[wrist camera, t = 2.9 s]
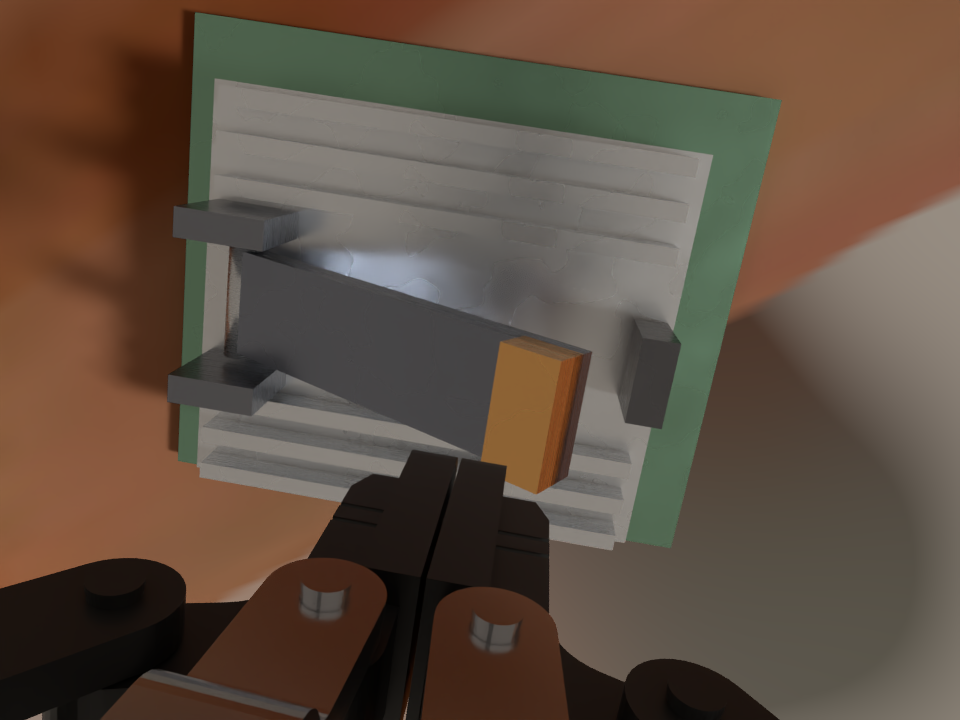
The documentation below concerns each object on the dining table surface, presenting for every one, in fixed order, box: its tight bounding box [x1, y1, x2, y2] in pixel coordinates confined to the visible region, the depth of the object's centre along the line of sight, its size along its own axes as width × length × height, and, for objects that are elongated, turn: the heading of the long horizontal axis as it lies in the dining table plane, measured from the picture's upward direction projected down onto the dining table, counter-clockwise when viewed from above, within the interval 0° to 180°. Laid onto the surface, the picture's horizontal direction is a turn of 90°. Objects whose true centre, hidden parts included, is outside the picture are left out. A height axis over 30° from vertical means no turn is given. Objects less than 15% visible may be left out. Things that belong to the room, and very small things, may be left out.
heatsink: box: [167, 12, 782, 550], centre depth 24 cm, size 16×19×7 cm
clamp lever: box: [223, 246, 592, 495], centre depth 19 cm, size 12×3×2 cm
